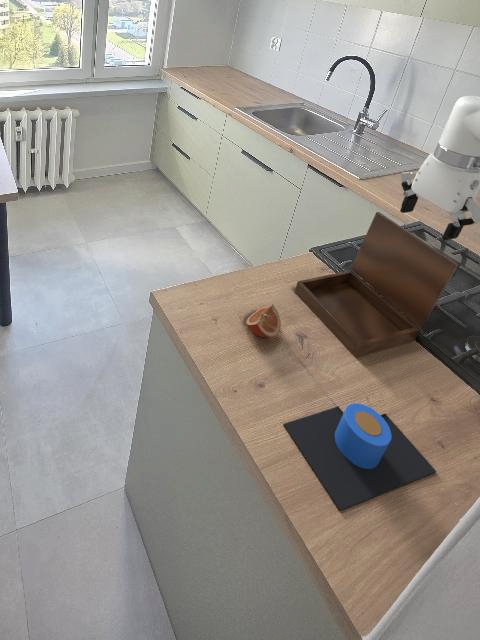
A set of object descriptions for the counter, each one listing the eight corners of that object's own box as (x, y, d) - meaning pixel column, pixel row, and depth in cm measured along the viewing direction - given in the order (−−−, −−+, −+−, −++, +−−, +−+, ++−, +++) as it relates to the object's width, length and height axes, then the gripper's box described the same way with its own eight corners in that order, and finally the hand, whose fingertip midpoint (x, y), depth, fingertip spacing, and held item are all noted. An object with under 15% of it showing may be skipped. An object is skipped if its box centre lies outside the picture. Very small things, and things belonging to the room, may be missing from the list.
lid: (456, 265, 84) (471, 262, 85) (376, 211, 100) (390, 210, 101) (419, 328, 90) (434, 325, 92) (350, 268, 107) (364, 267, 108)
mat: (369, 397, 81) (370, 396, 81) (435, 472, 69) (436, 471, 69) (283, 425, 75) (283, 423, 75) (339, 511, 64) (340, 510, 64)
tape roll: (355, 421, 76) (366, 398, 73) (388, 462, 70) (402, 439, 67) (325, 431, 74) (335, 408, 72) (357, 474, 68) (369, 450, 66)
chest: (354, 360, 88) (360, 346, 86) (293, 294, 104) (297, 281, 102) (413, 343, 92) (420, 329, 91) (346, 282, 109) (351, 269, 107)
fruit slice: (256, 311, 99) (260, 295, 97) (284, 329, 94) (289, 313, 92) (238, 331, 93) (243, 315, 91) (267, 351, 89) (272, 334, 87)
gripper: (519, 176, 78) (480, 247, 85) (430, 136, 93) (403, 200, 101) (491, 180, 76) (453, 253, 83) (404, 139, 91) (379, 204, 98)
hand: (426, 224), depth 92 cm, fingers open, 9 cm apart
